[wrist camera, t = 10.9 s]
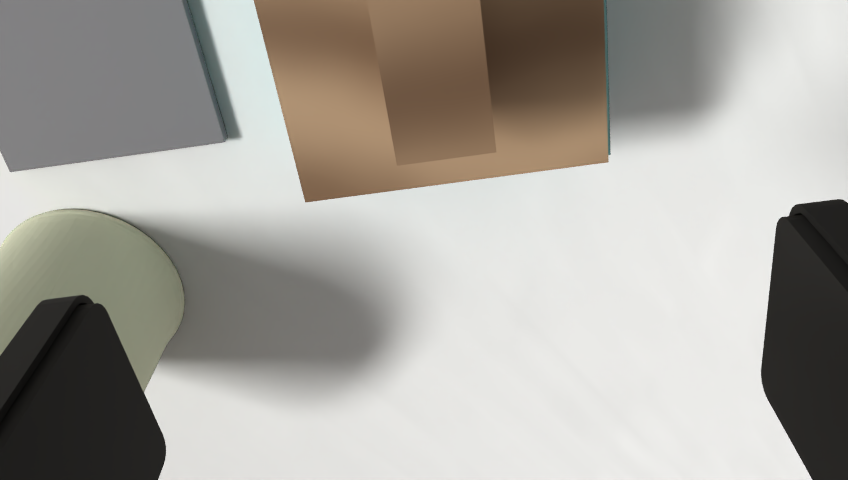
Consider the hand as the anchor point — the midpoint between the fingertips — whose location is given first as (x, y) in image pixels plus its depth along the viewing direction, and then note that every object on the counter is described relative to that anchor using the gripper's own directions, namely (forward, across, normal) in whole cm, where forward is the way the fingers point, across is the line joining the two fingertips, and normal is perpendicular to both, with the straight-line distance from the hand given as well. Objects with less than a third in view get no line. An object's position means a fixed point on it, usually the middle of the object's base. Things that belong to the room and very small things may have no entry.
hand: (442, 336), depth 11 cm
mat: (+23, +15, +1) cm, 28 cm away
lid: (+18, 0, +1) cm, 18 cm away
